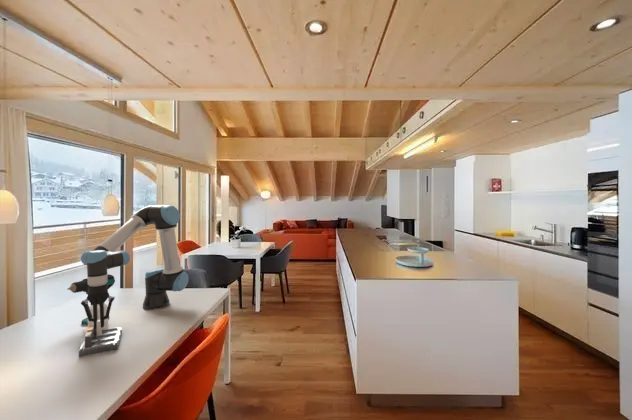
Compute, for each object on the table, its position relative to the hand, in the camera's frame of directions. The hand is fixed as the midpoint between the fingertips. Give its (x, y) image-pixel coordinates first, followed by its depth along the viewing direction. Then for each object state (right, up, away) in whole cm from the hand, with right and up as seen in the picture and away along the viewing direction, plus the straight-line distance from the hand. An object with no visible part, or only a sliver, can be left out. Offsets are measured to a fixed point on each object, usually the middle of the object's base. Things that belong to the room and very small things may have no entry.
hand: (99, 334), depth 142 cm
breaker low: (-6, -2, +4) cm, 7 cm away
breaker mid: (-3, -2, -2) cm, 4 cm away
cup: (-9, -5, +12) cm, 16 cm away
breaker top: (0, -2, -7) cm, 7 cm away
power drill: (-22, -4, +26) cm, 35 cm away
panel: (+1, -5, +1) cm, 5 cm away
